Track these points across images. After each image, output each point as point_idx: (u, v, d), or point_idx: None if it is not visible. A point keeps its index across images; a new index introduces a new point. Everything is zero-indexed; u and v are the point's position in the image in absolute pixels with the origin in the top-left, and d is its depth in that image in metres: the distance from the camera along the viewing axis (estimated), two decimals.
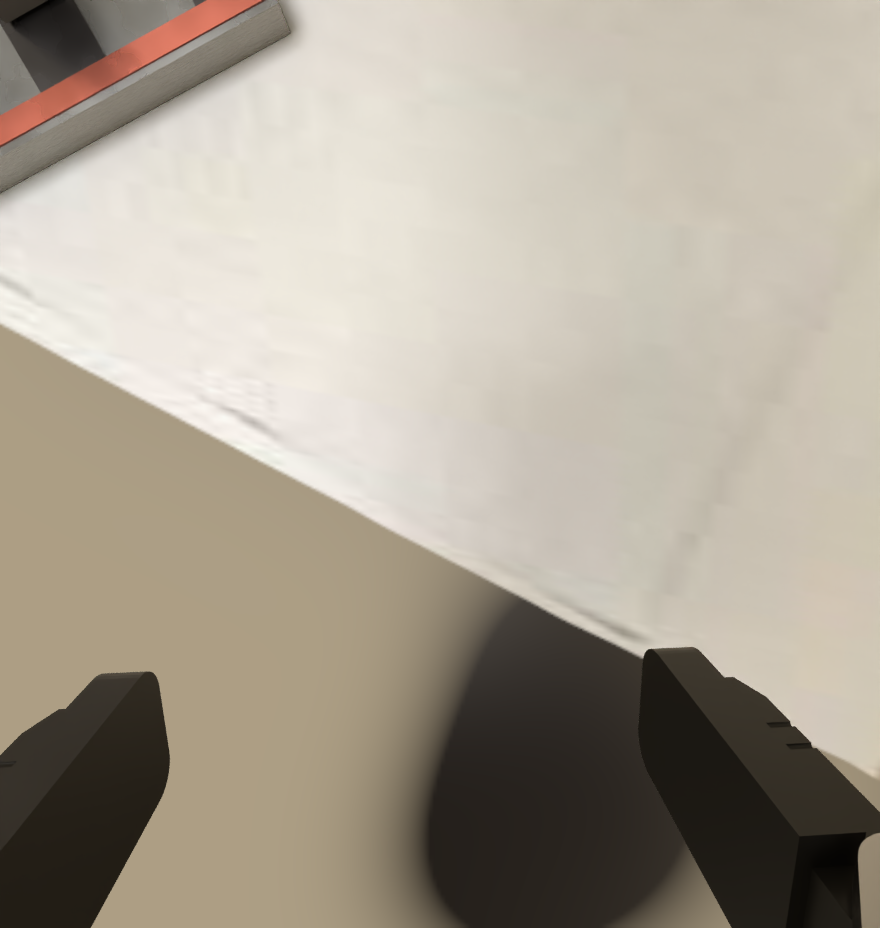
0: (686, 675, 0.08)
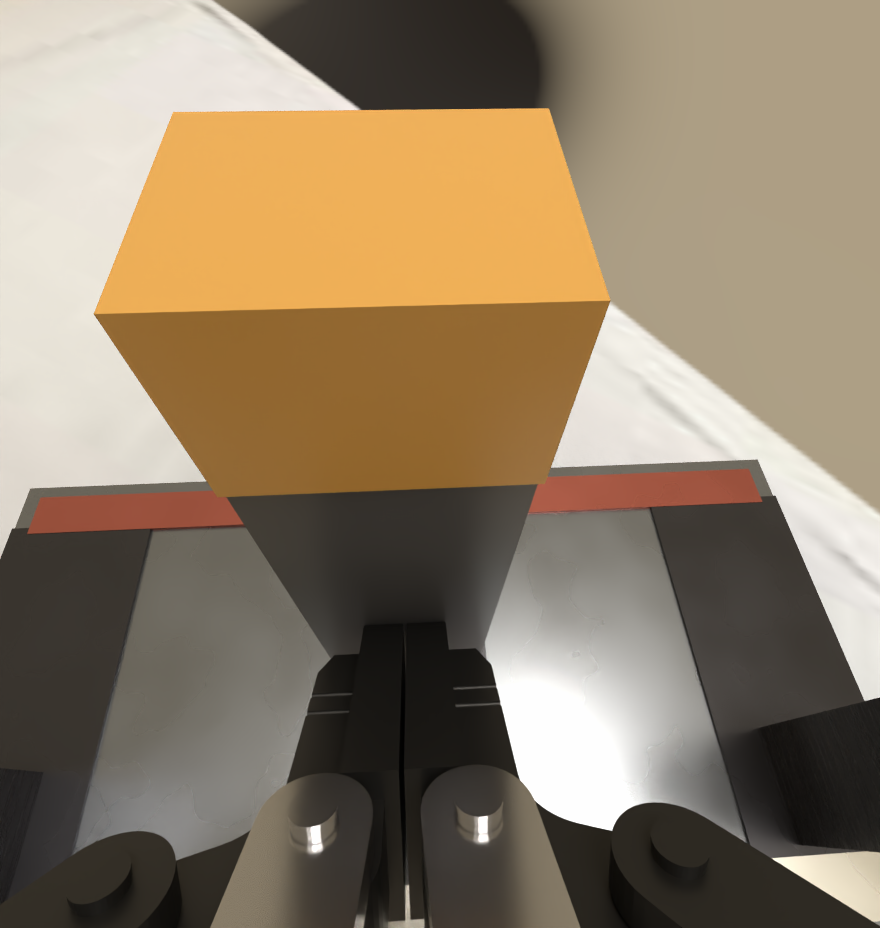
0: (418, 645, 0.09)
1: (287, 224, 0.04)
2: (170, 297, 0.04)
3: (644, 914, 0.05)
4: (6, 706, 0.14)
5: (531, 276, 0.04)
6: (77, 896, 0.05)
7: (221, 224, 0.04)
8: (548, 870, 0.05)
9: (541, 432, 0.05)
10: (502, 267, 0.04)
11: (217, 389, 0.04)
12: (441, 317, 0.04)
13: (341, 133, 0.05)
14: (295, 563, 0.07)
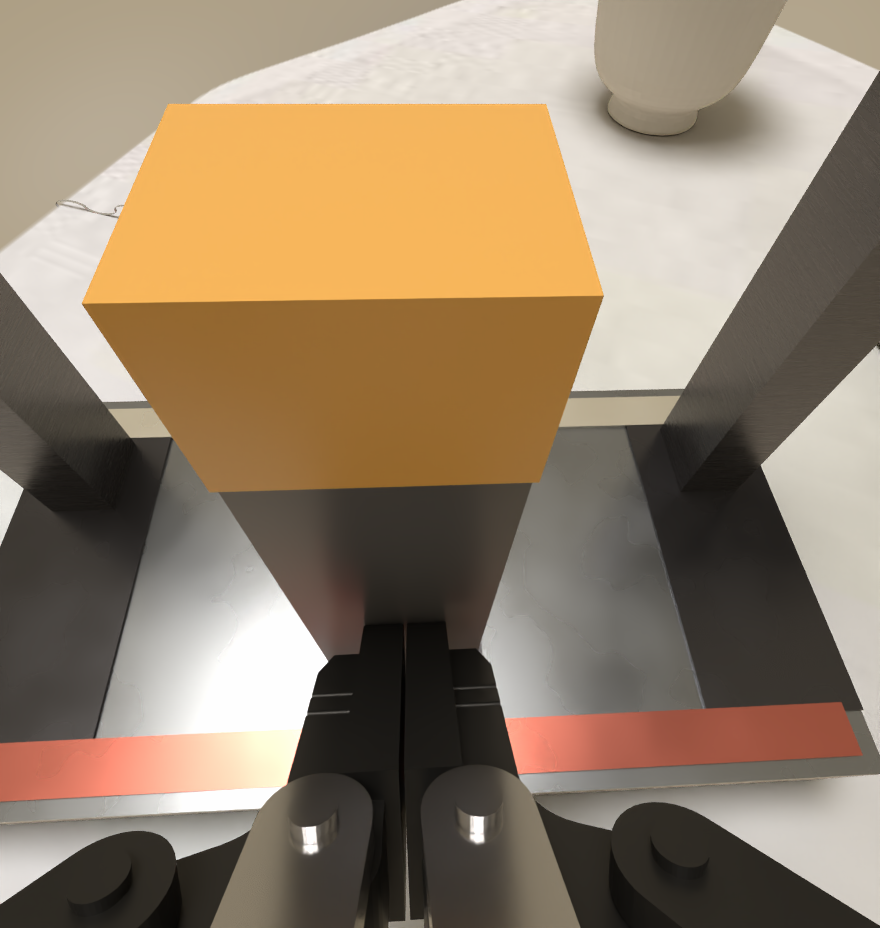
0: (418, 645, 0.09)
1: (422, 158, 0.04)
2: (498, 112, 0.05)
3: (644, 914, 0.05)
4: (739, 536, 0.17)
5: (220, 117, 0.05)
6: (77, 896, 0.05)
7: (482, 161, 0.04)
8: (548, 870, 0.05)
9: None
10: (240, 125, 0.05)
11: None
12: (300, 116, 0.05)
13: (379, 261, 0.04)
14: None
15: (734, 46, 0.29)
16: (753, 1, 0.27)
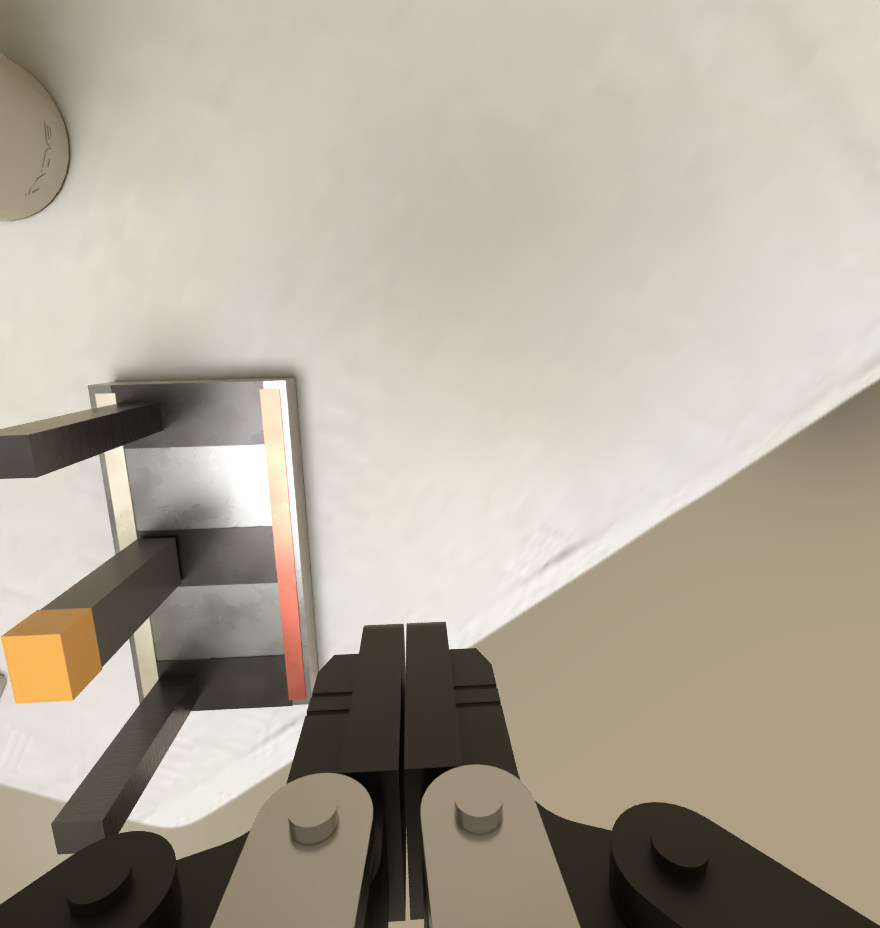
0: (418, 645, 0.09)
1: (26, 658, 0.24)
2: (6, 645, 0.24)
3: (644, 914, 0.05)
4: (185, 407, 0.34)
5: (19, 693, 0.25)
6: (77, 896, 0.05)
7: (25, 649, 0.24)
8: (548, 870, 0.05)
9: None
10: (21, 689, 0.25)
11: None
12: (12, 680, 0.25)
13: (56, 664, 0.24)
14: None
15: None
16: None
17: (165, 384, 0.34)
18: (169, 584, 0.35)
